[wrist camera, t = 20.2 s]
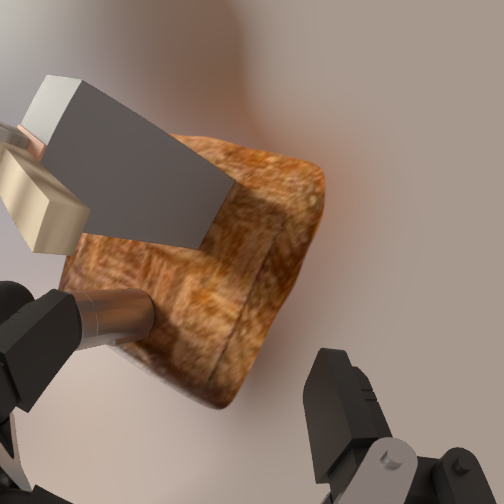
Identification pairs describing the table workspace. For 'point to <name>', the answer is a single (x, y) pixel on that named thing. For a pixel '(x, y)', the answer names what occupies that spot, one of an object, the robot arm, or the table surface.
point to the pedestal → (123, 166)
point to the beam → (38, 198)
